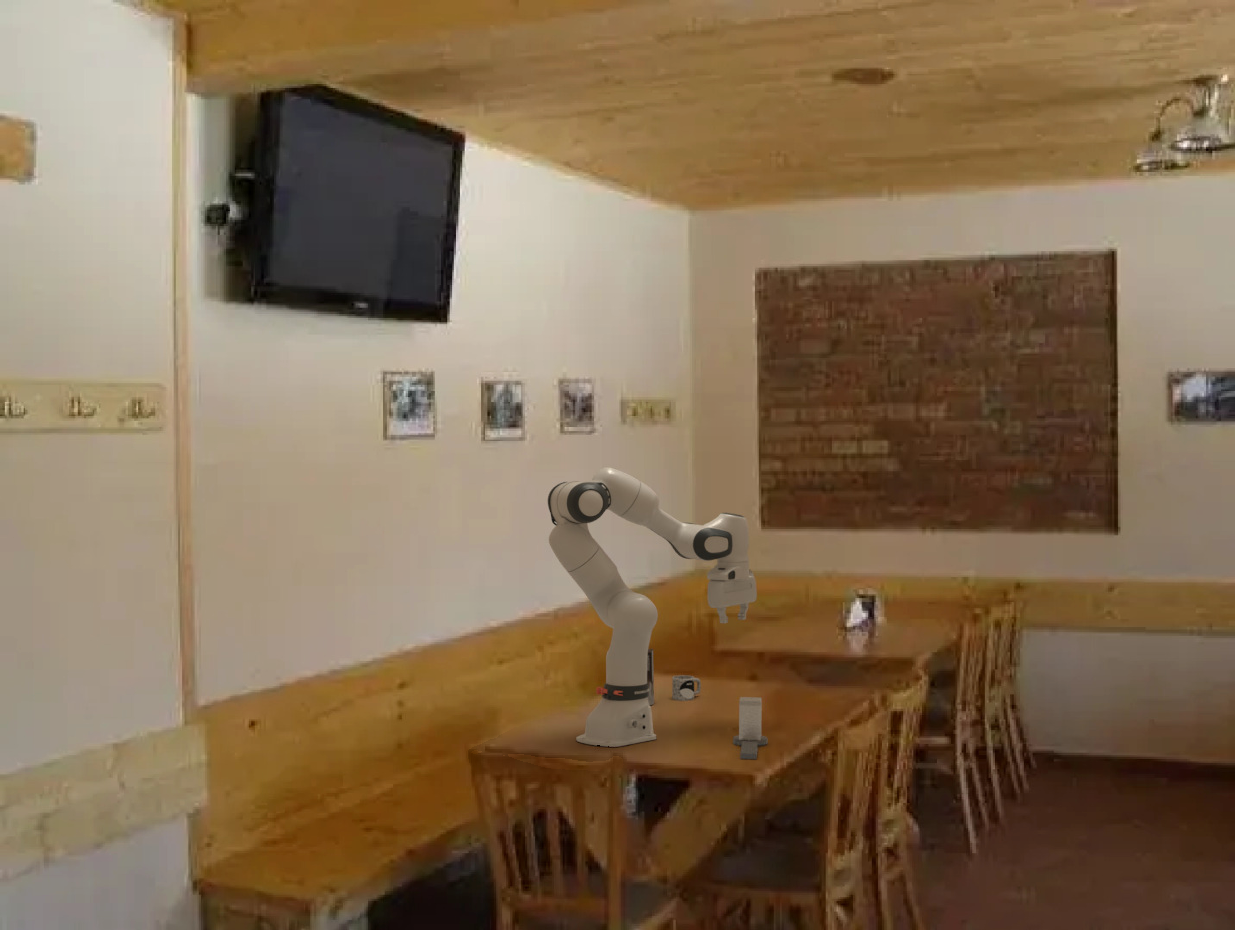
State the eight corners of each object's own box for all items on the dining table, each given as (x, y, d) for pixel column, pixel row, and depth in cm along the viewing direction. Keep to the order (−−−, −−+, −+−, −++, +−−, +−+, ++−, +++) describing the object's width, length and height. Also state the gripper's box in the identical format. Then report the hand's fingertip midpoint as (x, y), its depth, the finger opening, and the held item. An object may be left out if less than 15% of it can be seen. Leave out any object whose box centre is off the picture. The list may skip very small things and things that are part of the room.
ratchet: (733, 739, 404) (733, 719, 404) (767, 740, 403) (767, 719, 403) (730, 759, 381) (730, 737, 381) (766, 759, 380) (766, 738, 380)
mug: (681, 701, 459) (681, 679, 459) (668, 698, 464) (668, 676, 464) (707, 698, 465) (707, 676, 465) (693, 694, 470) (693, 673, 470)
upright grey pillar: (760, 740, 396) (760, 701, 396) (739, 739, 397) (739, 700, 396) (761, 735, 401) (761, 697, 401) (740, 735, 402) (740, 696, 402)
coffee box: (654, 701, 459) (654, 648, 458) (652, 705, 452) (652, 651, 452) (624, 701, 460) (624, 648, 459) (622, 705, 453) (622, 651, 453)
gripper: (743, 567, 431) (743, 616, 431) (703, 573, 414) (703, 624, 415) (762, 569, 427) (762, 618, 428) (723, 575, 411) (723, 626, 411)
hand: (732, 621), depth 421 cm, fingers open, 8 cm apart
